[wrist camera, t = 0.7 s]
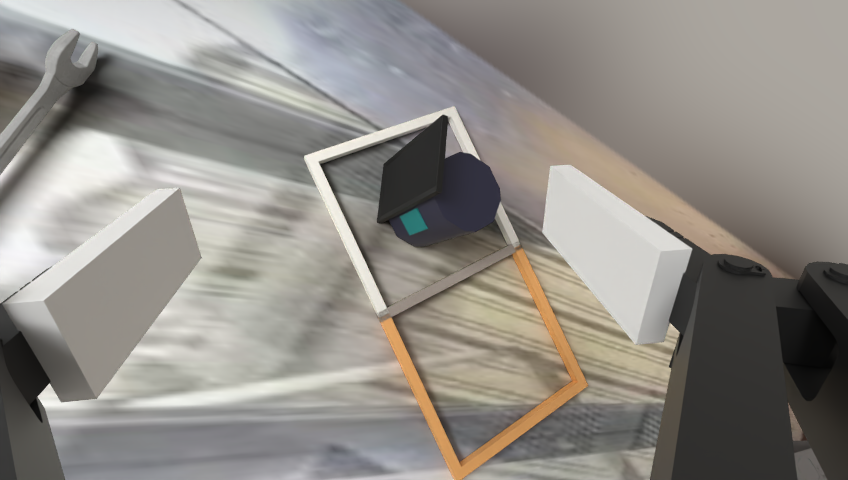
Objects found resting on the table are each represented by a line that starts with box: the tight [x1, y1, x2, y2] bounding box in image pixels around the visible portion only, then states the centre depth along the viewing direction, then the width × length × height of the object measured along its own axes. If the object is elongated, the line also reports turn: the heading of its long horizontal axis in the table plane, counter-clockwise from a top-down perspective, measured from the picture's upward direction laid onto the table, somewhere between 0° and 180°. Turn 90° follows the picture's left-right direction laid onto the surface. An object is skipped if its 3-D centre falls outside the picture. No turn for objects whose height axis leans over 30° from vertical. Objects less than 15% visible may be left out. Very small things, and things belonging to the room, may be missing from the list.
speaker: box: [377, 115, 501, 247], centre depth 32 cm, size 8×6×10 cm
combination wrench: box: [0, 29, 98, 175], centre depth 26 cm, size 4×1×20 cm
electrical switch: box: [793, 441, 827, 480], centre depth 39 cm, size 9×5×9 cm, turn 95°
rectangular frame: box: [304, 106, 588, 480], centre depth 36 cm, size 28×15×1 cm, turn 27°
